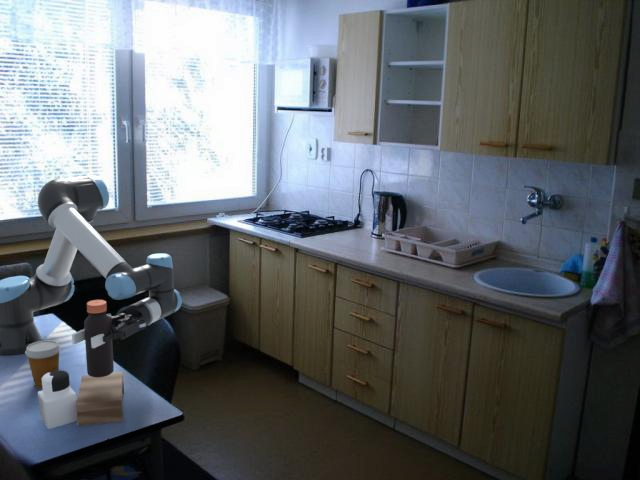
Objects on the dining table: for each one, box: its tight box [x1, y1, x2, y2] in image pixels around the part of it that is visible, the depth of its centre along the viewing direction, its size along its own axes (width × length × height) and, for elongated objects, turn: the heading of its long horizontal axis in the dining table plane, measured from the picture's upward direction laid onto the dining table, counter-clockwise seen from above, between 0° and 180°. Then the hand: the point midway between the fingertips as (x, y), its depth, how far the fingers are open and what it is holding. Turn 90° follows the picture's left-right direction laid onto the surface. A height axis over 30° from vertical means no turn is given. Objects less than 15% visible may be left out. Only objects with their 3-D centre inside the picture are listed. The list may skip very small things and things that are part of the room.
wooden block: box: [76, 371, 125, 428], centre depth 169 cm, size 18×11×6 cm, turn 16°
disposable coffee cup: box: [25, 339, 62, 389], centre depth 183 cm, size 10×10×12 cm
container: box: [37, 369, 78, 430], centre depth 162 cm, size 8×8×13 cm
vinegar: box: [83, 299, 115, 377], centre depth 166 cm, size 7×7×20 cm
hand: (82, 341), depth 162 cm, fingers closed on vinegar, 6 cm apart
